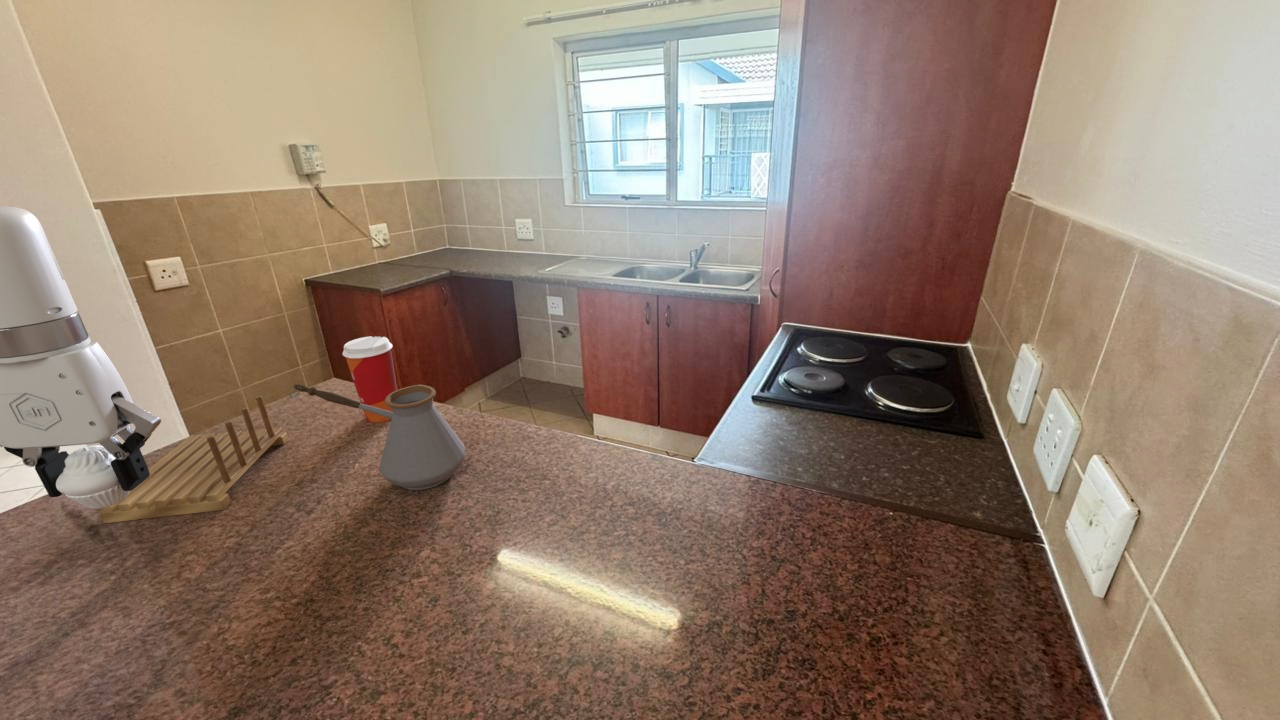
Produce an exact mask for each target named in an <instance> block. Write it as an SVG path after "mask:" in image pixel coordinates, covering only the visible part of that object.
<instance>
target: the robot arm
mask: <svg viewBox="0 0 1280 720" xmlns="http://www.w3.org/2000/svg"><path fill="white" fill-rule="evenodd" d="M50 244H51V243H50V242H49V240H48V238H47V235H46V233H45V230H44V228H43V226H42V224H41V222H40V220H39V219H38V217H36V215H34V214H33V213H32V212H30V211H29V210H27V209H24V208H22V207H16V206H10V205H9V206H8V205H0V447H1V448H2V447H3V449H4V450H5V451H6V452H7V453H9V454H11V455H14V456H16V457H18V458H19V459H20V458H21V459H22V463H23V464H24V465H25V466H26V467H30V468H33V467H34V470H35V472H36V474H37V476H38V477H39V480H40V481H41V483H42V485H43V487H44V489H45V490H46V492H47V495H48V496H49V498H59V497H60V496H62V495H64V494H63V493H61V492H60V491H58V490H57V488H56V481H57V479H58V477H59V476H60V475H61V474H62V473H63V470H64V468H65V467H66V465H65V459H66V458H67V457H68V455H69V453H68V451H67V450H64V451H63V450H61V448H60V447H71V446H84V445H93V444H95V445H96V444H100V446H103V447H104V448H105V449H106V450H107V451H108V452H110V453H111V454H112V455H113V456H114V457H115V458H116V459H114V460H113V461H112V462H111V466H112V468H113V470H114V472H115V475H116V477H117V479H118V481H119V483H120V485H121V488H122V490H124V491H132V490H133V489H134V488H136V487H137V486H138V485H139V484H141V483H142V482H143V481H144V480H146V479H147V478H148V477H149V476H150V473H149V467H148V465H147V462H146V460H145V457H144V455H143V453H142V451H141V448H143V447H144V446H145V445H146V443H147V441H148V439H150V437H151V436H152V435H153V433H154V432H155V430H156V429H157V428H158V427H159V425H161V423H162V419H161V418H160V417H159V416H157V415H156V414H153V413H152V412H150V411H148V410H146V409H144V408H142V407H140V406H139V405H137V404H135V402H134V401H133V398H132V396H131V394H130V392H129V390H128V388H127V386H126V384H125V383H124V380H123V379H122V376H121V375H120V373H119V371H118V370H117V368H116V366H115V364H114V363H113V362H112V360H111V359H110V358H109V356H108V354H107V353H106V352H105V350H104V349H103V348H102V347H101V345H100V343H98V341H96V340H91V338H90V335H89V333H88V331H87V328H86V326H85V324H84V322H83V319H82V317H81V315H80V312H79V310H78V307H77V305H76V302H75V301H74V298H73V296H72V293H71V290H70V289H69V286H68V284H67V282H66V279H65V277H64V274H63V272H62V271H61V270H62V269H61V268H60V266H59V265H60V264H59V263H58V261H57V258H56V256H55V254H54V251H53V249H52V247H51V245H50ZM131 424H133V425H134V426H135V428H134V429H133V428H132V427H131V426H130V425H131ZM115 436H119V437H120V438H121V439H122V440H123V443H122V442H120V441H119V440H118V439H117V438H116V437H115ZM60 450H61V451H60Z"/></svg>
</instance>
